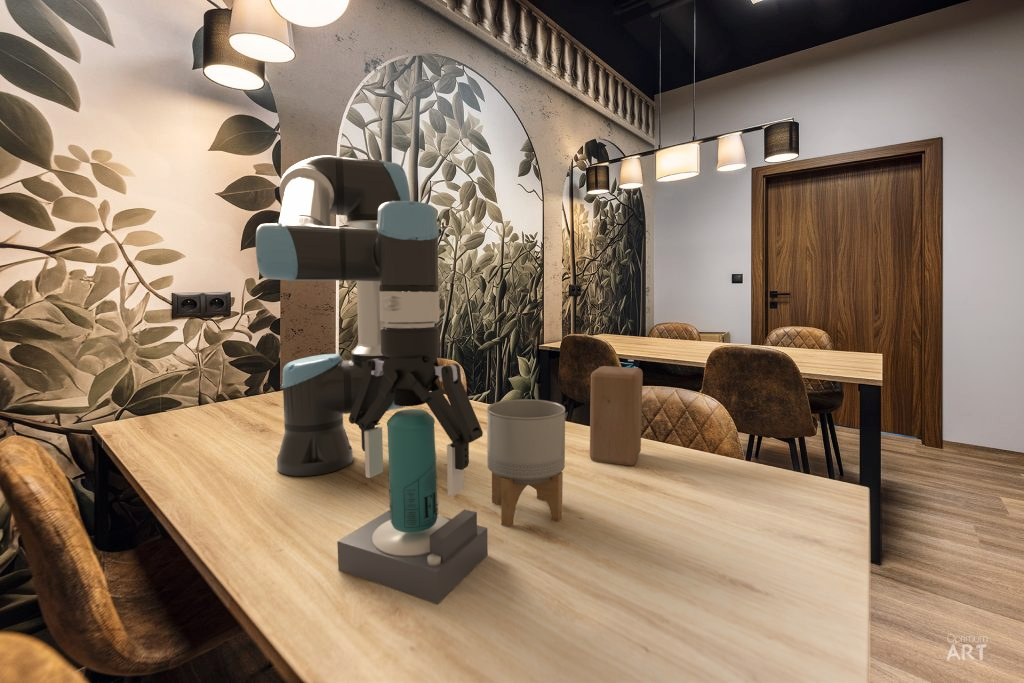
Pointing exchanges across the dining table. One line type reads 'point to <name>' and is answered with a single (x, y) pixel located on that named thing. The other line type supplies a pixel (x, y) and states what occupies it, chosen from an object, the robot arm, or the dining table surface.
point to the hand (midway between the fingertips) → (413, 483)
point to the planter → (526, 453)
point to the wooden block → (616, 414)
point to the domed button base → (415, 554)
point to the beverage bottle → (412, 466)
